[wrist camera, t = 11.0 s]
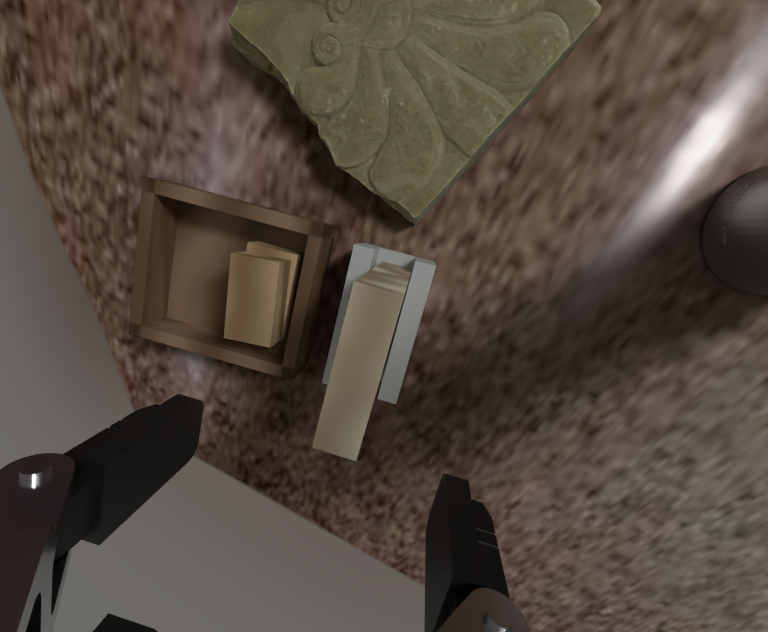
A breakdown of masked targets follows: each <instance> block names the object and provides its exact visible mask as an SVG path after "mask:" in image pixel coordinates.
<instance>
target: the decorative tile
mask: <svg viewBox="0 0 768 632" xmlns="http://www.w3.org/2000/svg"><path fill="white" fill-rule="evenodd" d="M600 12H601V6H600V5H599V4H598V2H597V1H596V0H239V2H238V4H237V6H236V8H235V10H234V12H233V13H232V15H231V17H230V19H229V25H230V28H231V30H232V32H233V35H232V38H231V43H232V45H233V47H234V48H235V49H236V50H238V51H239V52H240V53H241V54H242V55H243V56H244V57H245V58H246V59H247V60H248V61H249V62H250V63H251V64H252V65H254V66H255V67H256V68H258V69H261V70H262V71H263V72H265V73H267V74H269V75H271V76H273V77H276V78H277V79H278V80H279V81H280V83H282V84H283V85H284V86H285V88H286V89H287V91H288V92H289V93H290V95H291V97H292V98H293V99H294V100H295V101H296V103H297V105H298V108H299V110H300V111H301V113H302V114H303V115H305V116H306V117H307V118H308V120H310V121H311V122H312V123H313V124H314V125H315V126H317V127H318V131H319V136H320V139H321V140H322V141H323V142H324V143H325V146H326V147H327V148H328V149H329V151H330V152H331V155H332V157H333V160H334V163H335V164H336V166H337V167H338V168H340V169H341V170H343V171H346V172H348V173H349V174H350V175H352V176H353V177H354V178H355V179H357V180H358V181H360V182H361V183H362V184H363V185H365V186H366V187H367V188H368V189H369V190H370V191H371V192H373V193H374V194H377V195H378V196H379V197H380V198H382V199H383V200H384V201H385V202H386V203H388V204H389V206H391V207H392V208H393V209H395V210H397V211H398V212H399V213H400V214H402V215H403V217H404V218H405V219H407V220H408V221H410V222H411V223H413V224H414V225H416V224H418V223H419V222H420V221H421V220H422V219H423V218H424V217H425V216H426V215H427V214H428V212H429V211H430V210H431V209H432V208H433V207H434V206H435V205H436V204H437V203H438V202H439V201H440V199H441V198H442V197H443V196H444V195H445V194H446V193H447V192H448V191H449V190H450V189H451V187H452V186H453V185H454V184H455V183H456V182H457V181H458V180H459V179H460V178H461V176H462V175H463V174H464V173H465V172H466V171H467V170H468V169H469V168H470V167H471V165H472V164H473V163H474V162H475V161H476V160H477V159H478V158H479V157H480V156H481V154H482V153H483V152H484V151H485V150H486V149H487V148H488V147H489V145H490V144H491V143H492V142H493V141H494V140H495V138H496V137H497V136H498V135H499V134H500V133H501V132H502V130H503V129H504V128H505V127H506V126H507V125H508V124H509V123H510V121H511V120H512V119H513V118H514V117H515V116H516V115H517V114H518V112H519V111H520V110H521V109H522V108H523V107H524V106H525V105H526V103H527V102H528V101H529V100H530V99H531V98H532V97H533V96H534V95H535V93H536V92H537V91H538V90H539V89H540V88H541V86H542V85H543V84H544V83H545V82H546V81H547V79H548V78H549V77H550V76H551V75H552V74H553V72H554V71H555V70H556V69H557V68H558V67H559V66H560V64H561V63H562V62H563V61H564V60H565V59H566V58H567V57H568V55H569V54H570V53H571V52H572V51H573V50H574V49H575V48H576V46H577V45H578V44H579V43H580V42H581V41H582V40H583V38H584V37H585V36H586V35H587V33H588V32H589V30H590V29H591V27H592V26H593V24H594V23H595V21H596V20H597V18H598V17H599V15H600Z"/></svg>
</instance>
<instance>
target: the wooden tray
mask: <svg viewBox="0 0 768 632" xmlns="http://www.w3.org/2000/svg"><path fill="white" fill-rule="evenodd" d="M336 229H337V226H335V225H332V224H328V223H324V222H320V221H317V220H313V219H309V218H305V217H302V216H298V215H294V214H290V213H287V212H283V211H279V210H275V209H272V208H268V207H264V206H260V205H257V204H253V203H249V202H245V201H242V200H238V199H234V198H230V197H227V196H223V195H219V194H215V193H212V192H208V191H204V190H200V189H197V188H193V187H189V186H185V185H182V184H178V183H173V182H168V181H163V180H158V179H154V178H149V177H144V176H143V180H142V191H141V202H140V213H139V224H138V235H137V247H136V258H135V269H134V280H133V291H132V302H131V313H130V324H129V334H132V335H135V336H138V337H142V338H145V339H149V340H152V341H156V342H159V343H163V344H166V345H170V346H173V347H177V348H180V349H184V350H187V351H191V352H194V353H198V354H201V355H205V356H208V357H212V358H215V359H219V360H222V361H226V362H229V363H232V364H236V365H239V366H243V367H246V368H250V369H253V370H257V371H260V372H264V373H267V374H271V375H274V376H278V377H281V378H285V379H288V380H293V378H294V377H295V376H296V375H297V374H298V373H299V372H300V371H301V370H302V368H303V367H304V366H305V365H306V364H307V361H308V357H309V352H310V348H311V343H312V339H313V334H314V329H315V325H316V320H317V316H318V311H319V307H320V302H321V297H322V293H323V288H324V284H325V279H326V275H327V270H328V265H329V261H330V256H331V252H332V247H333V243H334V238H335V233H336ZM257 241H262V242H265V243H269V244H273V245H276V246H280V247H284V248H287V249H291V250H295V251H298V252H302V253H305V255H304V259H303V264H302V269H301V274H300V279H299V284H298V289H297V294H296V299H295V304H294V309H293V314H292V319H291V324H290V329H289V334H288V336H287V337H285V338H284V339H283V340H280V341H278V342H277V343H276V344H274V345H273V346H272V347H270V348H269V347H264V346H259V345H255V344H250V343H245V342H240V341H236V340H231V339H226V338H224V329H225V317H226V305H227V293H228V281H229V269H230V257H231V253H233V252H243V251H247V244H248V242H257Z"/></svg>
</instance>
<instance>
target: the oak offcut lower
mask: <svg viewBox="0 0 768 632" xmlns="http://www.w3.org/2000/svg"><path fill="white" fill-rule="evenodd" d="M247 252H253V253H258V254H263V255H268V256H273V257H278V258H283V259H288V260H291V267H290V275H289V283H288V291H287V299H286V307H285V315H284V324H283V332H282V339H281V340H283V339H284V338H285V337H287V336H288V334H289V329H290V324H291V319H292V314H293V309H294V304H295V299H296V294H297V289H298V284H299V279H300V274H301V269H302V264H303V259H304V255H305V253H302V252H298V251H295V250H291V249H287V248H284V247H280V246H276V245H273V244H269V243H265V242H262V241H257V242H248V244H247Z"/></svg>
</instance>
